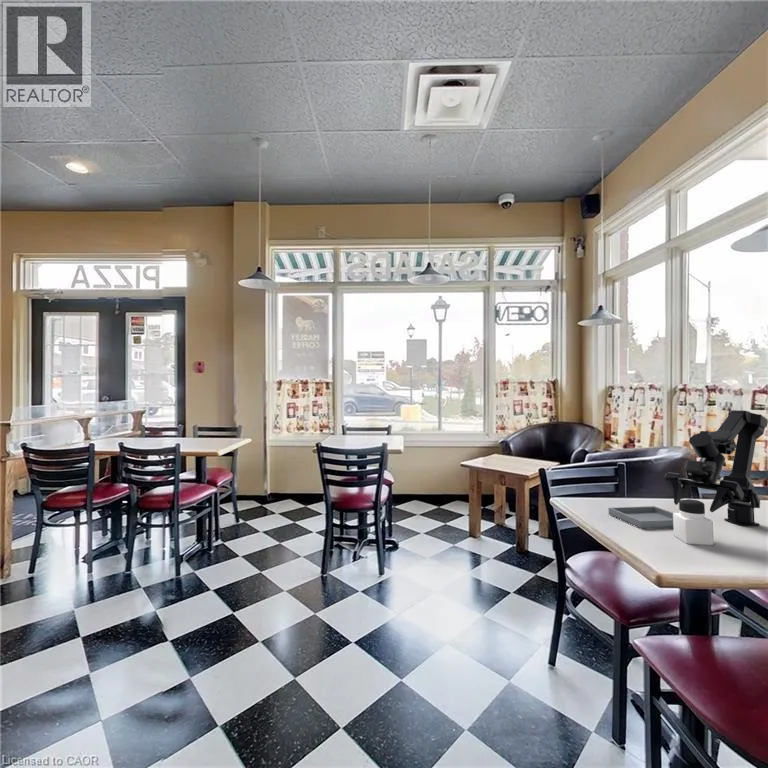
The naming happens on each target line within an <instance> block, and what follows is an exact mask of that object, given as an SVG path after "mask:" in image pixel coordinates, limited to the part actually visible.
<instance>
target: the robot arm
mask: <svg viewBox="0 0 768 768" xmlns="http://www.w3.org/2000/svg"><path fill="white" fill-rule="evenodd" d="M767 426H768V419H767V418H766V417H765V416H763V415H762V414H758V413H753V412H750V411H747V410H741V409H740V410H729V411H728V413H727V417H726V418H725V420H724V421H723V422H722V424H721V425H720V426H719V427H718V429H717V430H715V431H711V432H709V431H707V430H700V431H699V433H695V434H692V436H690V437H689V439H688V443H689V444H690V446H691V447H692V449H693V451H694V453H695V455H696V456H698V457H700V458H699V460H698V461H697V460H691V459H687V460H685V465H684V471H686V472H687V473H688V477H689V478H684V477H683V475H682V474H681V473H676V472H671V471H669V472H666V473H665V475H664V477H663V479H664V481H666V483H667V485H668V487H669V488H670V489H672V491H673V503H674V505H676V506H677V505H679V501H680V500H682V499H683V496H684V495H685V493H686V491H685V490H686V489H687V486H688V487H693V488H700V489H703V490H706V491H707V490H708V491H713V492H714V491H715V492H716V493H715V496H714V498H713V500H712V502H711V504H710V507H709V511H710V512H711V513H714V512H715V511H717V510H719V509H721V507H723V506H725V505H727V518H725V517H724V521H726V522H730V523H732V524H736V525H738V524H739V526H741V525H743V527H744V525H751V526H760V523H759V522H756V521H755V509H761V499H760V497H759V496H758V494H757V492H756V489H755V488H756V487H755V486H754V484H753V482H752V481H751V471H752V466H753V459H754V454H755V447H756V442H757V441H756V440H758V439H759V438H760V437H762V435H764V432H765V429H766V428H767ZM736 437H737V439H736ZM735 439H736V442H735ZM733 452H734V458H733V462H732V466H731V467H732V468H731V473H729V474H728V475H724V476H723V478H722V477H721V475H720V474H721V471H722V469H723V467H726V466H727V463H726V458H725V456H724V455H732V454H733ZM690 478H691V479H690ZM721 478H722V479H721ZM719 480H720V481H719ZM718 481H719V483H717V482H718Z"/></svg>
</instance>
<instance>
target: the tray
mask: <svg viewBox="0 0 768 768" xmlns="http://www.w3.org/2000/svg"><path fill="white" fill-rule="evenodd" d="M673 513H674V512H672V511H669V510H666V509H663V508H660V507H657V506H656V505H655V506H654V505H649V506H647V505H645V506H643V505H642V506H619V507H608V515H609V514H610V516H611V515H612V517H613V516H614V517H613V518H615V517H617V518H616V519H618V518H619V519H618V520H620V519H621V521H622V520H623V521H622V522H624V521H626V522H628V523H627V524H629V523H630V524H629V525H631V524H632V525H631V526H633V525H635V526H637V527H639V528H638V529H640V528H655V529H674V527H673ZM626 522H625V523H626ZM635 526H634V527H635ZM637 527H636V528H637Z"/></svg>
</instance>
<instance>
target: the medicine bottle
mask: <svg viewBox="0 0 768 768" xmlns="http://www.w3.org/2000/svg"><path fill="white" fill-rule="evenodd" d="M678 510H679V512H672V513H673V527H674V528H673V536H674V537H676V538H677V539H679V540H680V541H682V542H683V543H685V544H686V543H687V545H703V546H713V545H714V544H715V542H714V541H715V540H714V524H713V520H711V519H709V518H707V517H706V509H705V503H704V502H703V501H701V500H697V499H693V498H681V500H680V501H679V503H678Z"/></svg>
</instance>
